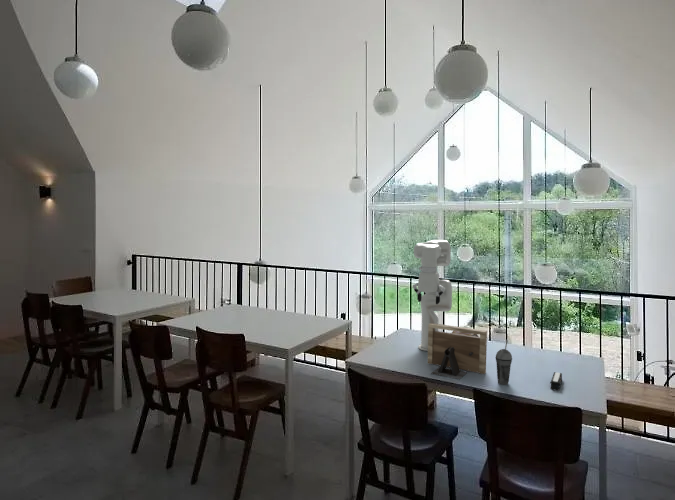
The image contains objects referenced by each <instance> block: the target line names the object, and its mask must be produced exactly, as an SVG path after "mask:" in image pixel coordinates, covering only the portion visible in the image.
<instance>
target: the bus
mask: <svg viewBox="0 0 675 500" xmlns="http://www.w3.org/2000/svg"><path fill="white" fill-rule="evenodd" d="M562 382H563V373H561V372H557V371H556V372H553V375H552V378H551V381H549V385H550V390H553V391H558V392H559V391H561V390H560V389H561V385H562Z"/></svg>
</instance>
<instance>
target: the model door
mask: <svg viewBox="0 0 675 500" xmlns="http://www.w3.org/2000/svg"><path fill="white" fill-rule="evenodd" d="M464 327H465V326H454V325H447V324H441V323H438V324H434V323H430V324H428V351H427V364H429V365H436V366H439V367H437V368H436V369H434V370H433V371H431V372H430V374H431V375H436V376H441V377H444V378H445V377H446V378H449V379H455V380H461V379H462V378H463V377H464V376H466V374H467V373H468V372H472V373H473V372H474V373H477V374H481V375H485V374H486V373H487V346H488V345H487V344H488V330H485V329H480V328H479V329H477V328H471V327H468V328H464ZM435 328H437V329H438V331H435ZM439 330H444V331H439ZM446 331H452V332H453V331H458V332H465V333H473V334H477V335H479V337H474V336H468V335H461V334H454V333H452V332H446ZM449 347H450V348H452V347H454V349H455V351H454V353H455V357H456V360H457V363H458V366H459V369H460V373H458V374H457V375H456V376H454V375H449V374H443V373H438V370H439V368H440V365H441V363H442V360H443V358H444V355H445V353H444V351H445V350H446V349H447V348H449ZM450 348H449V349H450ZM446 369H448V370H451V365H450V361H449V360H448V363H447V367H446ZM467 371H468V372H467Z"/></svg>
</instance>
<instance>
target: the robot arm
mask: <svg viewBox="0 0 675 500" xmlns="http://www.w3.org/2000/svg"><path fill="white" fill-rule="evenodd" d="M451 247H452V246H451V244H450V242H449V241H448V240H445V239H431V240H428V241H426V242H425V241H424V242H417V243H416V244H415V245H414V247H413V255H414V257H415V258H416V259H420V265H421V266H419V268H418V269H419V270H420V272H419V275H418V281H417V283H415V284H413V285H412V288H413V290H414V292H415V293H416V295H417V296H416V297H417V299H416V300H417V302H418V303H419V304H420V309H421V337H420V338H421V339H420V341H421V342H420V344H419V345H418V346H417V347H418V349H419V350H421V351H424V352H428V324H430V323H434V324H439V323H440V322H439V316H438V315H437V314H436V312H450V311H451V310H452V305H453V286H452V281H450V280H449V279H440V273H439V271H437V268H438V267H447V266H450V264H451V260H452V257H451V255H452V253H451V252H452V251H451V250H452V248H451ZM422 292H423V293H424V294H423V295H422ZM435 331H439V329H437V328H435Z"/></svg>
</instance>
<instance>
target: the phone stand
mask: <svg viewBox="0 0 675 500" xmlns="http://www.w3.org/2000/svg"><path fill="white" fill-rule="evenodd" d="M449 348H450V347H449ZM449 348H447V349H446V350H445V351H444V353H445V355H444V358H443V360H442V363H441V365H439V367H440V368H439V370H438V373H443V374H449V375H454V376H456V375H457V374H458V373H460V371H461V369H459V366H458V363H457V360H456V357H455V353H454V351H455V349H454V347H452V348H450V349H449ZM448 360H449V361H450V365H451V367H450V369H451V370H448V369H449V368H448V367H447V363H448ZM446 368H448V369H446Z"/></svg>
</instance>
